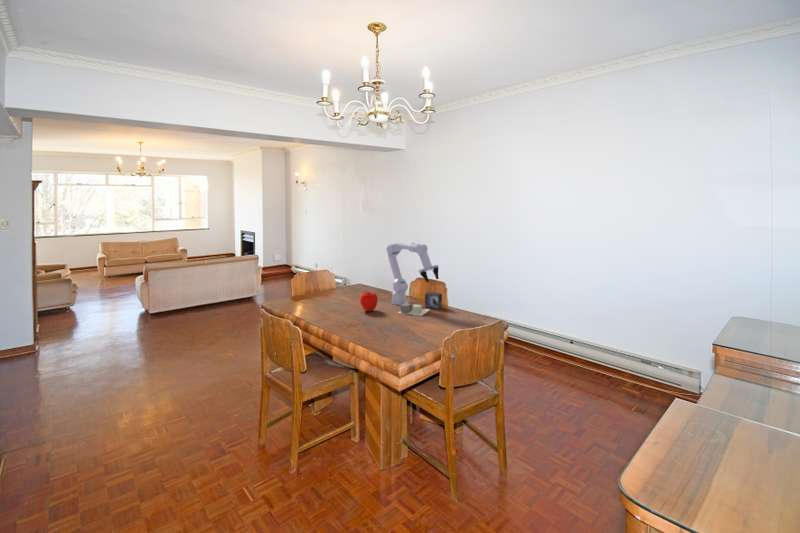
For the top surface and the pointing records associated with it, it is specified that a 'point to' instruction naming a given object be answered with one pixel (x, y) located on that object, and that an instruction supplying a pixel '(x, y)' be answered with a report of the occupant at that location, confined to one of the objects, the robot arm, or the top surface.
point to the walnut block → (411, 304)
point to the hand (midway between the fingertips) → (432, 280)
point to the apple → (368, 301)
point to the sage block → (416, 309)
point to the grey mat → (418, 314)
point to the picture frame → (433, 300)
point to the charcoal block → (405, 308)
